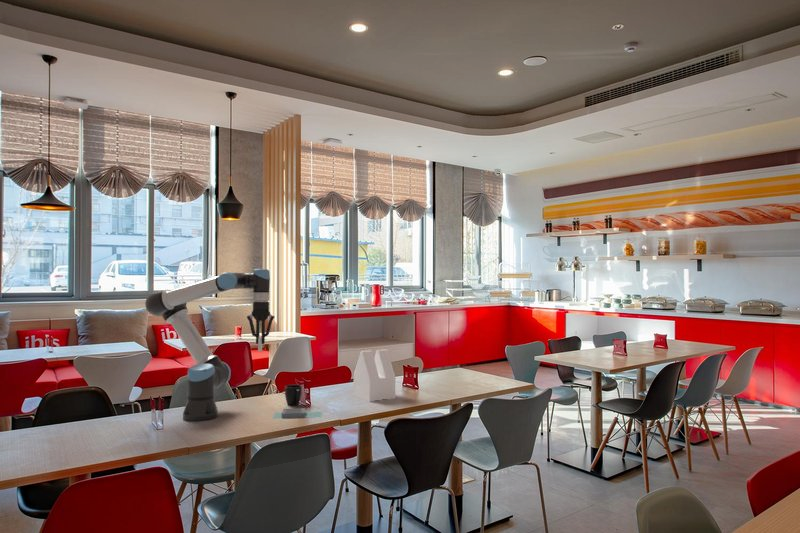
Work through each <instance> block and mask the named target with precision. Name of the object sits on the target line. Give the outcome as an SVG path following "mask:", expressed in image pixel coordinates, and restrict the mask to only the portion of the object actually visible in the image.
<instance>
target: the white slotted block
mask: <svg viewBox="0 0 800 533" xmlns="http://www.w3.org/2000/svg"><path fill="white" fill-rule="evenodd" d="M395 374H396V373H395V371H394V367H393V363H392V360H391V357H390V353H389V349H387V348H385V349H376V351H375V355H374V354H373V351H372V350H361V351H360V353H359V356H358V359H357V362H356V364H355V369H354V371H353V391H352V392H353V393H352V394H354V395H353V396H355V395H356V396H355V397H357V396H358V398H360V397H361V398H360V399H362V398H363V399H362V400H364V399H365V401H367V400H368V401H367V402H369V401H372V402H375V401H374V400H380V401H383V400H382V399H388V400H391V399H390V398H395V399H396V375H395Z"/></svg>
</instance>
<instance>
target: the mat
mask: <svg viewBox="0 0 800 533" xmlns="http://www.w3.org/2000/svg"><path fill="white" fill-rule="evenodd" d="M322 415H323V411H305V415H304V417H286V418H285V419H296V418H297V419H298V418H300V419H302V418H308V419H309V418H322ZM272 419H283V418H282V412H274V414H273V416H272Z"/></svg>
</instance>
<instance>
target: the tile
mask: <svg viewBox="0 0 800 533" xmlns="http://www.w3.org/2000/svg"><path fill="white" fill-rule="evenodd" d="M305 412H306V408H304V407H303V408H302V407H301V408H300V407H299V408H296V407H295V408H283V410H282V412H281V413H282V418H281V419H287V418H286V417H304V415H305Z"/></svg>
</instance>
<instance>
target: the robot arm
mask: <svg viewBox="0 0 800 533" xmlns="http://www.w3.org/2000/svg"><path fill="white" fill-rule="evenodd" d="M270 274H271V273H270V270H269V269H267V268H265V269H263V268H255V269H253V272H227V271H226V272H222V273H221V274H219V275H217V276H213V277H211V278H207V279H204V280H201V281H197V282H195V283H190V284H188V285H187V284H186V285H185V286H184V285H183V286H181V287H177V288H175V289H172V290H168V289H164V290H161V291H155V292H152V293H151V294H149V295H148V296H147V297H146V300H145V309H146V311H147V312H148V313H149V314H151V315H152V316H155V317H161V318H163V320H164V322H165V323H166V324H171V327H172V328H173V329H174V331H175V332H176V334H177V336H178V337H179V339H180V340H181V342H182V344H183V346H185V348H186V350H187V351H188V353H189V355H190V356H191V358H192V359H193V361H194V363H195V364H194V365H192V366H190V367H189V368H188V370H187V374H186V377H187V378H186V379H187V380H186V381H187V384H186V385H187V389H186V390H187V391H186V397H187V398H186V403H185V406H184V409H183V411H182V419H183V420H185V421H189V422H201V421H207V420H212V419H216V418H217V417H218V416H219V411H218V407H217V404H216V401H215V389H220V388H221V387H223V386H225V385H226V384H227V383H228V382H229V381H230V379H231V374H232V373H231V372H232V370H231V367H230V366H229V365H228V364H227V363H226V362H224V361H221V358H220V357H219V355H216V354H213V353H212V351H211V350H210V348H209V346H208V345H207V343H206V342H205V340H204V339H203V337H202V336H201V334H200V332H199V331H198V329H197V327H196V326H195V324H194V323H193V321H192V319H191V318H190V317H189V315H188V313H189V309H188V307H187V303H190V302H192V301H193V302H195V301H196V300H199V299H203V298H207V297H209V296H212V295H216V294H219V293H223V292H226V291H230V290H235V289H236V290H239V289H240V290H241V289H242V290H245V289H246V290H249V289H252V290H253V291H252V300H253V301H252V311H251V314H249V315H247V316H246V319H247V320H248V322H249V327H250V332H251V336H252V337H255V344H256V345H257V351H258V352H263V345H264V344H265V340H266V339H265V338H266V337H267V336H269V335H270V331H271V326H272V325H273V324H272V323H273V321H274V319H275V315H272V314H271V312H270V302H269V301H270V286H271V285H270V284H271V283H270V282H271V277H270ZM253 319H254V320H255V323H256V324H254V321H253ZM267 319H269V320H268V323H267V327H266V320H267ZM260 322H261V323H260ZM260 324H261V325H260ZM255 325H256V326H255ZM260 326H261V327H260ZM255 327H256V328H255ZM260 328H261V336H260Z"/></svg>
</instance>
